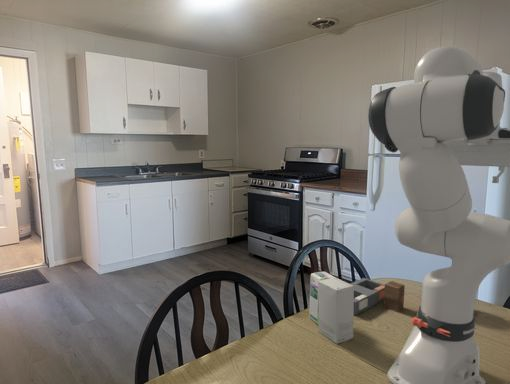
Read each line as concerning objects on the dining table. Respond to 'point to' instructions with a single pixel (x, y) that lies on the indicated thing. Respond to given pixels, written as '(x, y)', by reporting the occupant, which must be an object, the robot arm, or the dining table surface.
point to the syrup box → (316, 293)
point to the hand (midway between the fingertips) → (475, 181)
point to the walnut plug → (394, 296)
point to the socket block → (367, 294)
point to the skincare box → (336, 309)
